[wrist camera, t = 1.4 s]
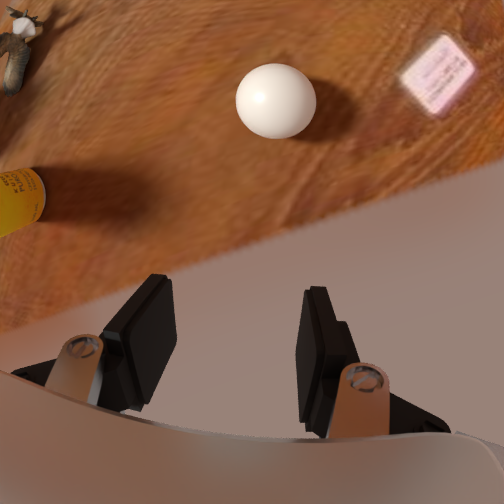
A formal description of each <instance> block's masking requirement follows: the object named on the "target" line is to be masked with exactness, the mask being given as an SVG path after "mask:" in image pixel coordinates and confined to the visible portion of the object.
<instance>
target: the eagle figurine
mask: <svg viewBox="0 0 504 504" xmlns="http://www.w3.org/2000/svg"><path fill="white" fill-rule="evenodd" d="M6 10H7V11H8V12H9V13H11V14H10V15H9V16H11V17H14V18H17V19H16V20H14V22H13V32H12V33H11V34H9V33H7V32H6V33H3V34H0V58H1V57H2V56H3V55H4V53H6V52H7V51H8V52H9V57H8V62H7V66H6V70H5V78H4V81H3V86H4V91H5V95H7V97H9V95H10V97H11V96H12V95H13V93H14V94H16V92H18V91H19V89H20V87H21V85H22V82H23V80H22V78H23V76H24V70H25V67H26V64H27V63H28V60H29V57H30V48H29V47H27V44H25V38H27V37H30V36H33V35H35V34H36V29H35V27H40V26H41V25H43V24H44V23H43V22H40V21H36V19H37V18H38V16H36V17H33V18H31V17H30V16H28V15H27V12H28V10H26V11H25V13H22V12H20V11H18V10H15V9H13V8H11V7H8V6H6Z"/></svg>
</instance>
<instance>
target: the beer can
mask: <svg viewBox="0 0 504 504" xmlns="http://www.w3.org/2000/svg"><path fill="white" fill-rule="evenodd" d="M45 200H46V193H45V187H44V184H43V182H42V180H41V178H40V177H39V176H38V175H37V174H36V173H35V172H34V171H33V170H31V169H29V168H23V169H18V170H13V171H9V172H4V173H0V238H1V237H3V236H5V235H7V234H10V233H12V232H14V231H16V230H18V229H20V228H23V227H25V226H27V225H29V224H32V223H34V222H36V221H37V220H38V219H39V217H40V216H41V213H42V211H43V208H44V206H45Z"/></svg>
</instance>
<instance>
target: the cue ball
mask: <svg viewBox="0 0 504 504" xmlns="http://www.w3.org/2000/svg"><path fill="white" fill-rule="evenodd" d="M236 107H237V111H238V114H239V116H240V118H241V120H242V121H243V123H244V124H245V125H246V126H247V127H248V128H249V129H250V130H251V131H253V132H254V133H256V134H258V135H260V136H263V137H266V138H271V139H283V138H288V137H291V136H294V135H296V134H298V133H299V132H301V131H302V130H303V129H304V128H305V127H306V126H307V125H308V124H309V123H310V121H311V120H312V118H313V115H314V113H315V109H316V95H315V91H314V89H313V86H312V84H311V83H310V81H309V80H308V79H307V77H306V76H305V75H304V74H303V73H301V72H300V71H298V70H297V69H295V68H293V67H291V66H288V65H284V64H267V65H263V66H260V67H257V68H256V69H254V70H252V71H251V72H249V73H248V74H247V75H246V76H245V77H244V79H243V80H242V82H241V83H240V85H239V87H238V90H237V94H236Z"/></svg>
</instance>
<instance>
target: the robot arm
mask: <svg viewBox="0 0 504 504" xmlns="http://www.w3.org/2000/svg"><path fill="white" fill-rule="evenodd" d="M176 342H177V333H176V324H175V314H174V302H173V291H172V281H171V279H168V278H167V276H166V275H161V274H151V275H150V276H149V277H148V278H147V279H146V280H145V282H144V283H143V284H142V285H141V286H140V287H139V288H138V289H137V291H136V292H135V293H134V294H133V295H132V296H131V297H130V299H129V300H128V301H127V302H126V303H125V304H124V305H123V307H122V308H121V309H120V310H119V311H118V312H117V314H116V315H115V316H114V317H113V318H112V320H111V321H110V322H109V323H108V324H107V325H106V327H105V328H104V329H103V332H102V333H101V334H100V335H99V337H97V336H95V335H90V334H84V335H78V336H75V337H73V338H71V339H69V340H68V341H67V342H66V343H65V344H64V345H63V347H62V349H61V352H60V353H59V355H58V358H57V359H53V360H50V361H46V362H42V363H39V364H35V365H31V366H27V367H24V368H20V369H17V370H14V371H13V372H11V373H7V372H4V371H1V370H0V504H504V447H502V446H500V445H498V444H494V443H491V442H488V441H485V440H482V439H478V438H476V437H473V436H470V435H467V434H464V433H461V432H458V431H456V433H455V434H452V433H451V431H450V428H449V426H448V425H447V424H446V423H445V422H444V421H443V420H442V419H440V418H439V417H436V416H435V415H433V414H431V413H429V412H427V411H424V410H423V409H421V408H419V407H417V406H415V405H413V404H411V403H409V402H407V401H405V400H403V399H402V398H400V397H397V396H396V395H394V394H392V393H390V391H389V379H388V376H387V374H386V373H385V372H384V371H383V370H382V369H381V368H379V367H377V366H375V365H373V364H368V363H361V362H360V359H359V356H358V353H357V351H356V348H355V345H354V342H353V339H352V336H351V333H350V331H349V328H348V325H347V323H346V322H345V321H337V320H336V316H335V313H334V310H333V307H332V304H331V301H330V298H329V295H328V292H327V289H326V287H320V286H311V287H310V290H305V291H304V298H303V305H302V313H301V319H300V326H299V332H298V339H297V345H296V369H297V385H298V402H299V403H298V404H299V421H300V423H305V429H306V432H314V433H315V434H316V435H318V436H319V439H296V438H269V437H255V436H243V435H234V434H225V433H217V432H209V431H202V430H196V429H190V428H184V427H179V426H173V425H168V424H164V423H159V422H154V421H150V420H146V419H142V418H138V417H133V416H130V415H126V414H125V410H126V409H131V410H135V411H139V412H141V410H142V408H143V406H144V404H149V402H150V400H151V398H152V396H153V393H154V391H155V389H156V387H157V384H158V382H159V380H160V378H161V376H162V374H163V371H164V369H165V367H166V365H167V363H168V361H169V358H170V356H171V354H172V352H173V350H174V348H175V346H176Z"/></svg>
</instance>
